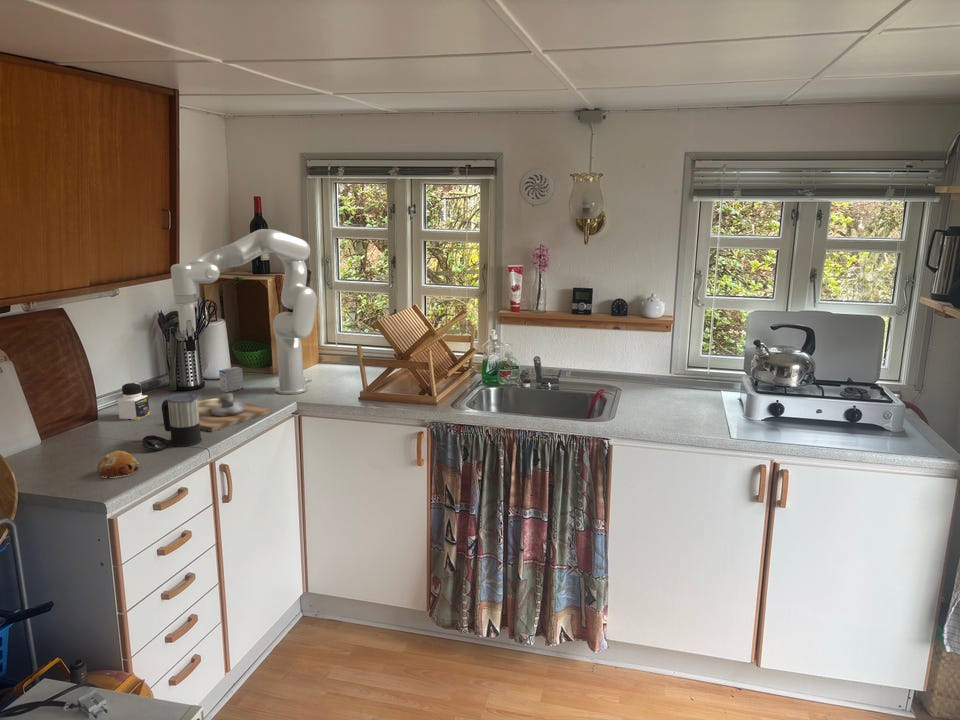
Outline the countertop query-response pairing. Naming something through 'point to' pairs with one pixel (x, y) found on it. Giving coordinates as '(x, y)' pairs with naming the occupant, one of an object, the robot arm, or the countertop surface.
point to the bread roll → (117, 464)
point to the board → (230, 417)
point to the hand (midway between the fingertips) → (191, 350)
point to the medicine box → (231, 379)
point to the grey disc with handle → (222, 405)
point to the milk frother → (178, 422)
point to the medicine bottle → (133, 402)
